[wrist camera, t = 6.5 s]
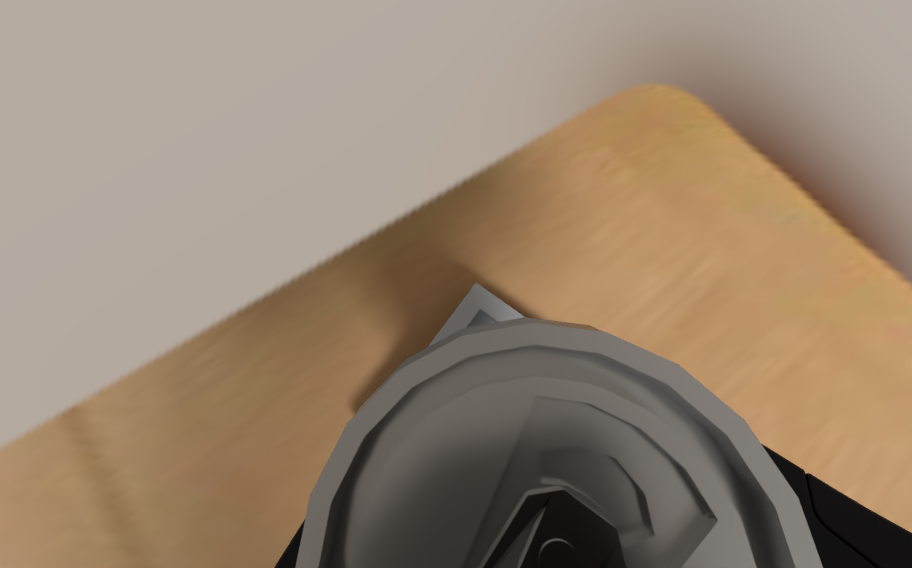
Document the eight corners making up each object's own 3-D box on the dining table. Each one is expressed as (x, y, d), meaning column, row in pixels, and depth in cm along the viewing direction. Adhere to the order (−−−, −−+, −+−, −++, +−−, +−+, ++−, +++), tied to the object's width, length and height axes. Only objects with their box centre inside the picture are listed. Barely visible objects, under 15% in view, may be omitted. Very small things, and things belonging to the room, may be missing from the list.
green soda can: (528, 549, 14) (672, 1211, 3) (407, 454, 16) (157, 647, 4) (607, 419, 15) (971, 520, 4) (487, 337, 16) (473, 213, 5)
